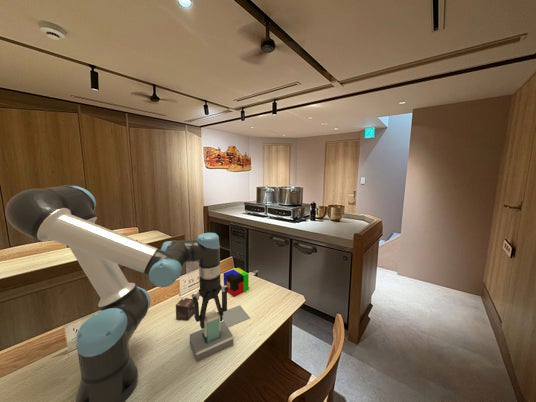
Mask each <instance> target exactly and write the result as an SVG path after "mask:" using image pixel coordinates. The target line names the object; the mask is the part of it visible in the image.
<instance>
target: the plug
mask: <svg viewBox="0 0 536 402" xmlns="http://www.w3.org/2000/svg"><path fill="white" fill-rule="evenodd" d="M216 312H217V311H216V309H214V310H211V311H208V312H207V311H206V314H205V319H206V321H207V337H205V342H206V344H207V343H209V342H211V341H214V340H216V339H218V338H220V335H219V318H218V314H217V313H216Z"/></svg>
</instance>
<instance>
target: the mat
mask: <svg viewBox="0 0 536 402" xmlns="http://www.w3.org/2000/svg"><path fill="white" fill-rule="evenodd" d="M222 318H223V320H222V321H224V322H225V324H226V325H227V327H228V328H230V327H233V326H236V325H238V324H241V323H243V322H245V321H247V320H250V319H251V317H250V315H248V313H247V312H246V311H245V309H244V308H243V307H242V306H241V305H236V306H234V307H231V308H229V309H228V308H227V311H224V312H223V316H222Z"/></svg>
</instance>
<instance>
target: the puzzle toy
mask: <svg viewBox="0 0 536 402" xmlns="http://www.w3.org/2000/svg"><path fill="white" fill-rule="evenodd" d="M224 285H226V286H227V287H228V292H227V294H229V295H230V296H231V297H232V298H235V297H237V296H239V295H241V294H243V293H245V292H246V293H247V291H249V288H250V287H249V273H248V272H246V271H244V270H243V269H241V268H240V267H237V268H234V269H230V270H228V271H225V272H223V286H224Z"/></svg>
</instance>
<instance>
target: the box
mask: <svg viewBox="0 0 536 402" xmlns="http://www.w3.org/2000/svg"><path fill="white" fill-rule="evenodd" d="M193 316H194V302H193V299H192V298H190V297H189V298H188V297H182V298H181V299H180V300H179V301H177V303H176V304H175V319H176V320H177V321H186V322H187V321H189V320H190V319H191V318H192V317H193Z"/></svg>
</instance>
